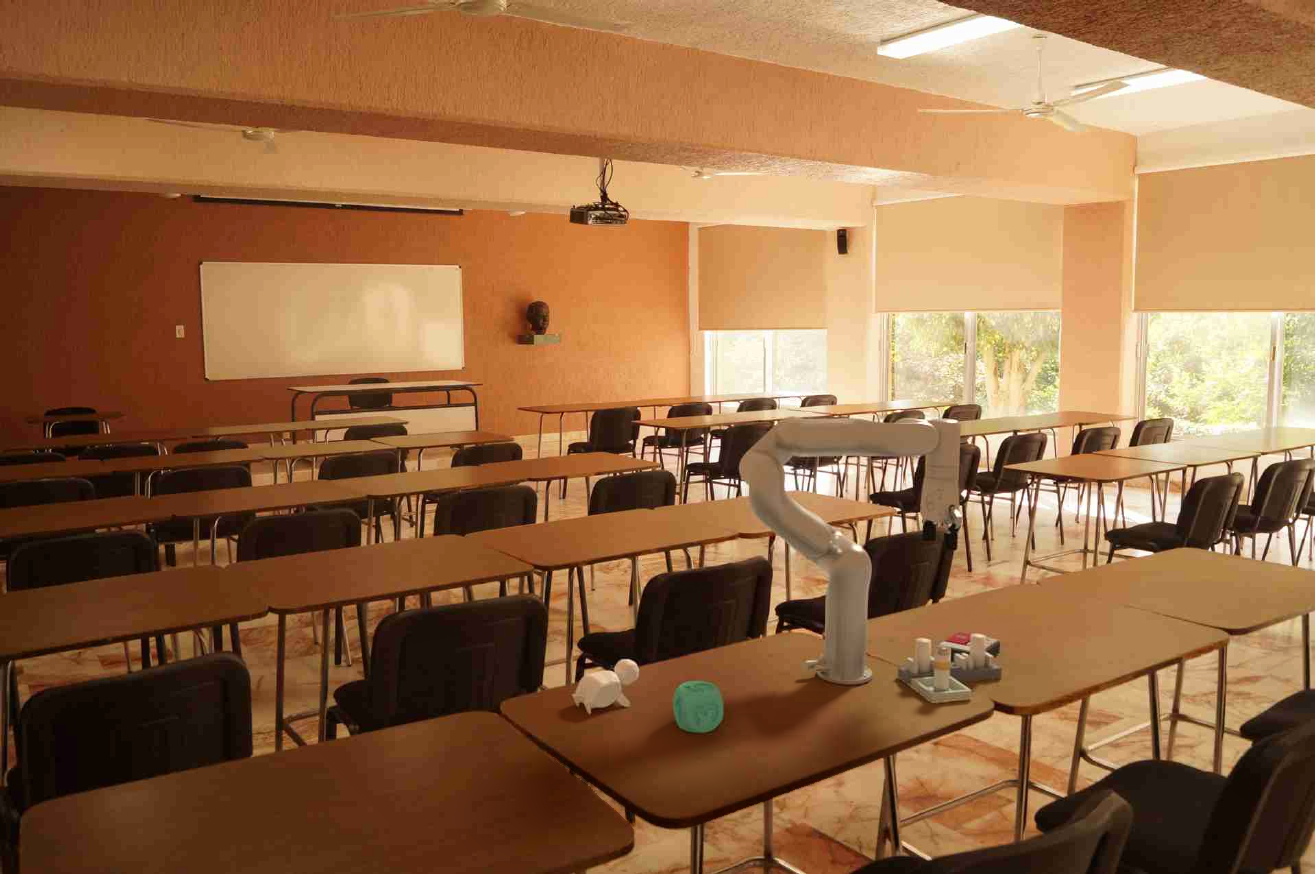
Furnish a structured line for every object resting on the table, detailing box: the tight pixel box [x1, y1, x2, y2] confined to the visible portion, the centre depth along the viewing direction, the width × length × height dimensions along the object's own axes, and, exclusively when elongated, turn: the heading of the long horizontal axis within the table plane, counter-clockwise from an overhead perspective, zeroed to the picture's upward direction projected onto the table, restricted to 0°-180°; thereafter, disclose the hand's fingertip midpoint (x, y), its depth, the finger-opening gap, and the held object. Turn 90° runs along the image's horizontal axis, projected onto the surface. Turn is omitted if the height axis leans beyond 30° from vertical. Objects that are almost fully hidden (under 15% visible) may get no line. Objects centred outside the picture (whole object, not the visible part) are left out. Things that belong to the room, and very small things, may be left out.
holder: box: [897, 633, 1003, 685], centre depth 225 cm, size 23×6×10 cm, turn 104°
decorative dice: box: [672, 680, 724, 734], centre depth 199 cm, size 8×8×8 cm
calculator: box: [938, 631, 1001, 662], centre depth 241 cm, size 11×4×15 cm
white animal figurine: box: [571, 658, 640, 715], centre depth 210 cm, size 9×8×15 cm
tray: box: [910, 676, 973, 702], centre depth 216 cm, size 9×9×2 cm
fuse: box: [933, 644, 951, 692], centre depth 215 cm, size 3×3×10 cm
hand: (939, 545), depth 226 cm, fingers open, 9 cm apart
